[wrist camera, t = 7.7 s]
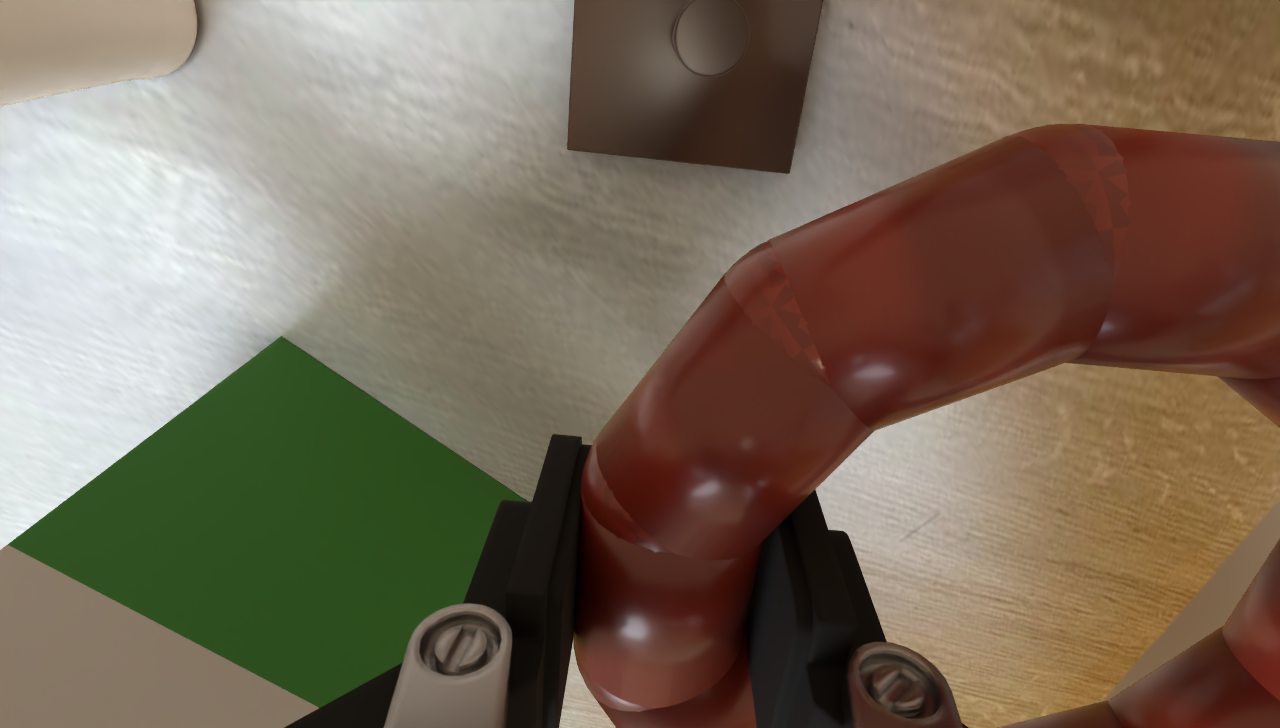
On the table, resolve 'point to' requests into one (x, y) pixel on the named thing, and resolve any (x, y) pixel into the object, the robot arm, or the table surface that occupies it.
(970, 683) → the table surface
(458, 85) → the table surface
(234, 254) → the table surface
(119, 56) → the drinking glass
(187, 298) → the table surface
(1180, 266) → the ring
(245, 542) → the hardback book
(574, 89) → the peg stand
